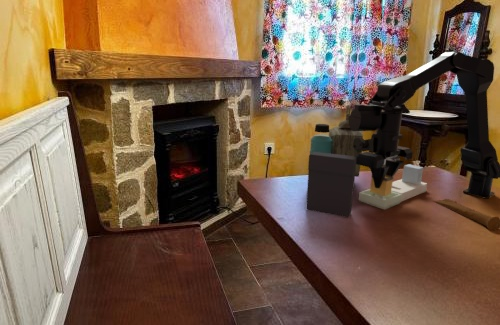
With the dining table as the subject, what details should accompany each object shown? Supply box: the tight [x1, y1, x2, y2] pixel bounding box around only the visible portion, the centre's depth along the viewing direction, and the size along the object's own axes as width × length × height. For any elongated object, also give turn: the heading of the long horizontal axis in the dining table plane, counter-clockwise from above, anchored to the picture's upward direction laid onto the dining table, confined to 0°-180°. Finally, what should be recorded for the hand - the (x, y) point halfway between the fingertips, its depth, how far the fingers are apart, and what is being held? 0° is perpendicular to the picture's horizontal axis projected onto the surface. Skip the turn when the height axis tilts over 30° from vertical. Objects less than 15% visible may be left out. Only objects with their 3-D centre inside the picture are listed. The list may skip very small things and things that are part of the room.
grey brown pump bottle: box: [328, 104, 364, 178], centre depth 111 cm, size 14×9×25 cm, turn 170°
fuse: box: [401, 163, 424, 185], centre depth 107 cm, size 3×4×7 cm, turn 39°
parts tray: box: [358, 188, 402, 211], centre depth 98 cm, size 8×8×2 cm
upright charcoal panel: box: [305, 152, 357, 218], centre depth 89 cm, size 11×4×15 cm, turn 65°
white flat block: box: [391, 178, 428, 202], centre depth 105 cm, size 15×7×2 cm, turn 129°
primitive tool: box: [433, 198, 500, 231], centre depth 91 cm, size 19×6×4 cm, turn 11°
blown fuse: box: [369, 175, 394, 200], centre depth 97 cm, size 3×5×7 cm
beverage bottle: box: [307, 123, 332, 175], centre depth 105 cm, size 6×7×20 cm
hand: (381, 186), depth 97 cm, fingers open, 4 cm apart
